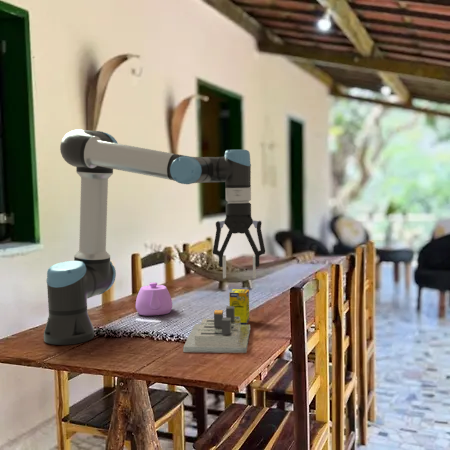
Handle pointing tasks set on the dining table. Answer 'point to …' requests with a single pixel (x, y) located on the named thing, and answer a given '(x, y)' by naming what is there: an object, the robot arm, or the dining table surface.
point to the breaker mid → (218, 318)
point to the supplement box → (240, 304)
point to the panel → (219, 347)
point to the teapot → (153, 300)
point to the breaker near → (226, 325)
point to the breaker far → (230, 312)
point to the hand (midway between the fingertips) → (239, 277)
